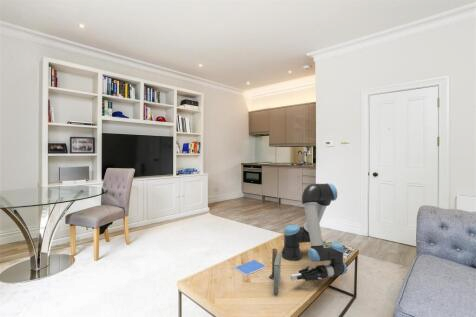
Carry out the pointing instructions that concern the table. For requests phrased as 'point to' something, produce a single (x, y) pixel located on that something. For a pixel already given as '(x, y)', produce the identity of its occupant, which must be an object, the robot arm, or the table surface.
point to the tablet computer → (250, 267)
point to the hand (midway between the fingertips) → (291, 277)
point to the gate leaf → (277, 272)
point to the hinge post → (273, 262)
